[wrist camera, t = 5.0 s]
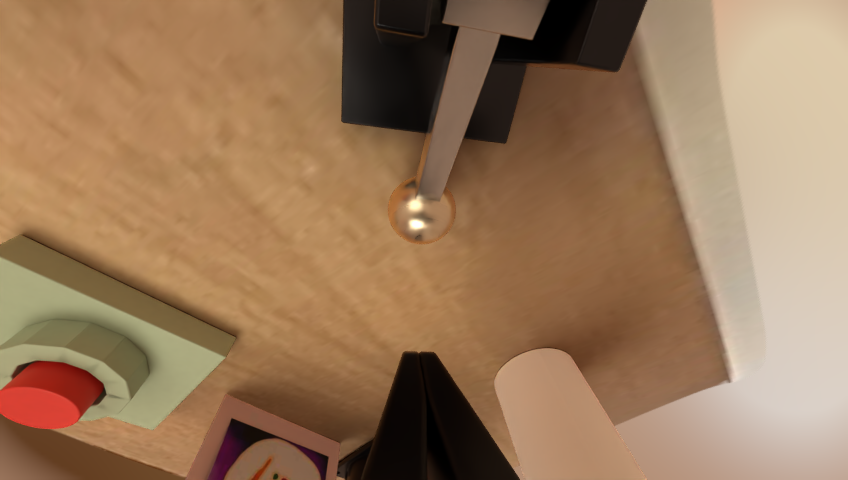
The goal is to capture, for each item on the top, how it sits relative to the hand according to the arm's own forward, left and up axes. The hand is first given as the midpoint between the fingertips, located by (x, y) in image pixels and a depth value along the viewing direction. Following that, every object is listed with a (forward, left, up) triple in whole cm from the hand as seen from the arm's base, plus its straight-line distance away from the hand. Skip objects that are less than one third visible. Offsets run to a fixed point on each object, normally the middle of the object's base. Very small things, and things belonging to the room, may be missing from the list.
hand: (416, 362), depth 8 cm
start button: (-20, +7, -8) cm, 23 cm away
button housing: (-20, +7, -11) cm, 24 cm away
